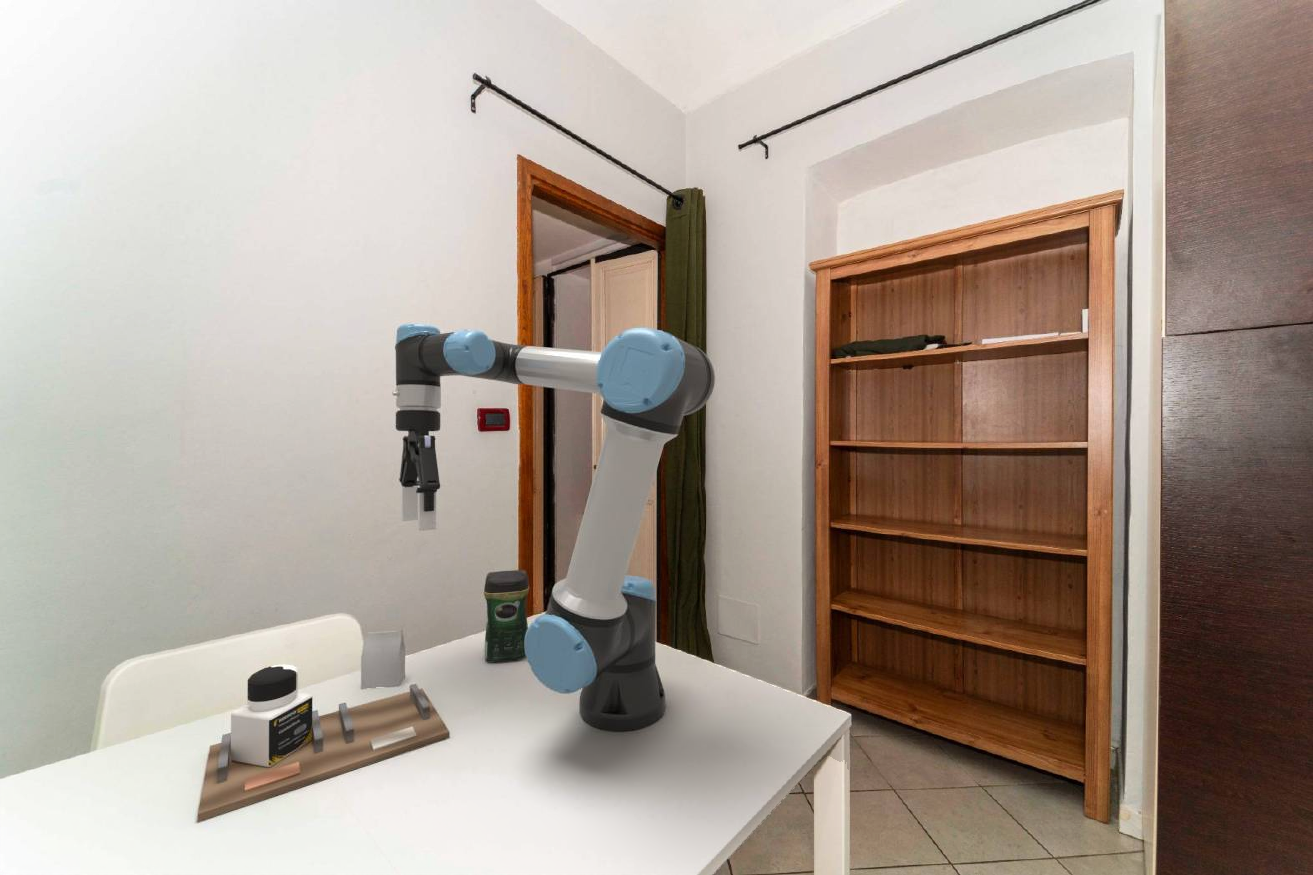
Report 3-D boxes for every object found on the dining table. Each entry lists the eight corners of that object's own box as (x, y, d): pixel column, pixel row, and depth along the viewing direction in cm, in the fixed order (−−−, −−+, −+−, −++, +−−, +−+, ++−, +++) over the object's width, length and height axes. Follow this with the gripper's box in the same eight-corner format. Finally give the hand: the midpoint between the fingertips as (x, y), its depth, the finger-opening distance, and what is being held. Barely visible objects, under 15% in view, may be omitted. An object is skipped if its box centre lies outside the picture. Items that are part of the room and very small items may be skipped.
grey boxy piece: (398, 686, 99) (398, 634, 99) (361, 689, 98) (361, 636, 98) (405, 677, 103) (405, 627, 103) (368, 680, 102) (368, 629, 102)
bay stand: (449, 737, 82) (449, 718, 82) (197, 822, 64) (197, 797, 64) (422, 693, 96) (422, 677, 96) (210, 752, 78) (210, 732, 78)
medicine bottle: (269, 768, 73) (269, 683, 73) (229, 761, 74) (229, 678, 74) (313, 740, 80) (313, 662, 80) (276, 734, 81) (276, 657, 81)
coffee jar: (529, 646, 118) (529, 565, 118) (530, 660, 111) (530, 574, 111) (484, 650, 116) (485, 568, 116) (482, 665, 108) (482, 577, 108)
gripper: (383, 412, 103) (383, 518, 103) (411, 405, 83) (411, 537, 83) (423, 413, 107) (423, 515, 107) (459, 407, 88) (459, 532, 87)
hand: (418, 525), depth 95 cm, fingers open, 13 cm apart
